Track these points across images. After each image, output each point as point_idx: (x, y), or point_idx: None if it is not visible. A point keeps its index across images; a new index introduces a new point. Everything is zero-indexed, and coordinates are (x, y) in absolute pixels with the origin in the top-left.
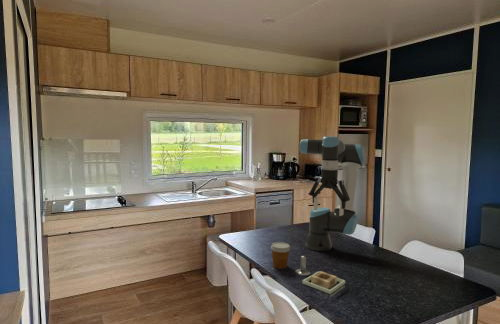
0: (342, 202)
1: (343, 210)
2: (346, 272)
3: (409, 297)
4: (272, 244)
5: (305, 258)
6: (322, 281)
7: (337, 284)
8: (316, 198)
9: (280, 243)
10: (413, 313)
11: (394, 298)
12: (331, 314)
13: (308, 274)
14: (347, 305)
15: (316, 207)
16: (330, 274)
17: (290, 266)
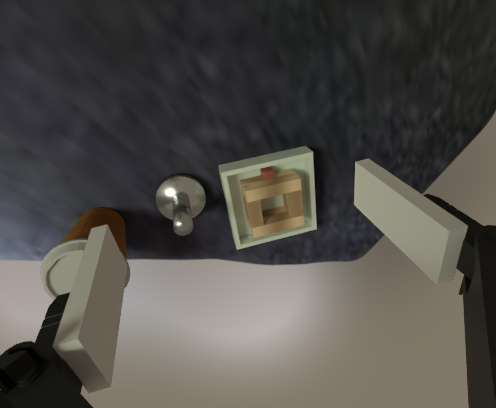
0: (459, 262)
1: (392, 175)
2: (251, 45)
3: (456, 41)
4: None
5: (192, 223)
6: (287, 227)
7: (310, 189)
8: (101, 354)
9: (56, 266)
10: (469, 118)
11: (425, 86)
12: (344, 259)
13: (204, 197)
14: (352, 212)
15: (115, 263)
16: (280, 184)
17: (101, 186)
